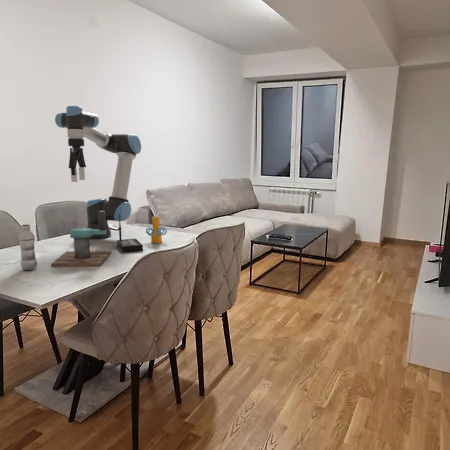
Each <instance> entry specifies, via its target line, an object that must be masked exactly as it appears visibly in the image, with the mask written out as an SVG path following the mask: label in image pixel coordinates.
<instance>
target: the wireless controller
mask: <svg viewBox="0 0 450 450" xmlns="http://www.w3.org/2000/svg"><path fill="white" fill-rule="evenodd" d="M118 224H119V225H118V234H119V239H117V240H116V245H117V246H116V247H117V248H118V249H119V250H120V251H121V253H122V254H127V253H128V254H129V253H137V252H143V251H144V249H143V248H144V247H143V246H144V245H143V243H141V242H140V241H139V240H138V238H127V239H122V227H121V221H120V215H119V221H118Z"/></svg>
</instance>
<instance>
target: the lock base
mask: <svg viewBox="0 0 450 450" xmlns="http://www.w3.org/2000/svg"><path fill="white" fill-rule="evenodd" d="M90 243H91V242H90V238H89V237H88V238H73V247H74V250H73V251H72V250H69V251H67V250H66V251H65V252H63V253H62V254H61V255H60V256H59V257H57V258H56V259H55V260H53V262H51V263H50V266H51V267H52V268H53V267H54V268H56V267H57V268H58V267H59V268H60V267H61V268H62V267H70V268H71V267H101V266H102V265H103V264H104V263H105V262H106V260H107V259H108V258H109V256H110V255H111V253H112V251H111V250H91V244H90Z"/></svg>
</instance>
